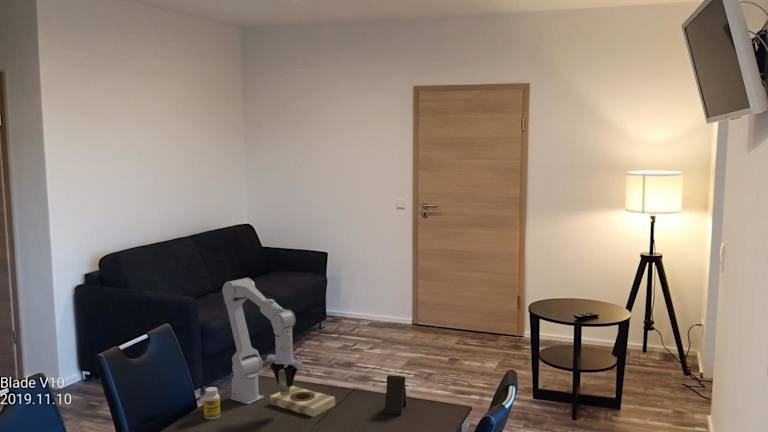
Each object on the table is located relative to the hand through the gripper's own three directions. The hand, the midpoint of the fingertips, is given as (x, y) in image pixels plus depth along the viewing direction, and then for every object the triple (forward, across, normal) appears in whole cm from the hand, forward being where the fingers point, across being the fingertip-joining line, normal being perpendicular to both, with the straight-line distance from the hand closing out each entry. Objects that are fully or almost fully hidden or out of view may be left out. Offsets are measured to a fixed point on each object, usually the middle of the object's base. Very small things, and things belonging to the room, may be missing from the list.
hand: (284, 384), depth 230 cm
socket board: (+10, 0, +9) cm, 14 cm away
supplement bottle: (+10, -19, -16) cm, 27 cm away
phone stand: (+10, +30, +24) cm, 40 cm away
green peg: (+3, 0, 0) cm, 3 cm away
